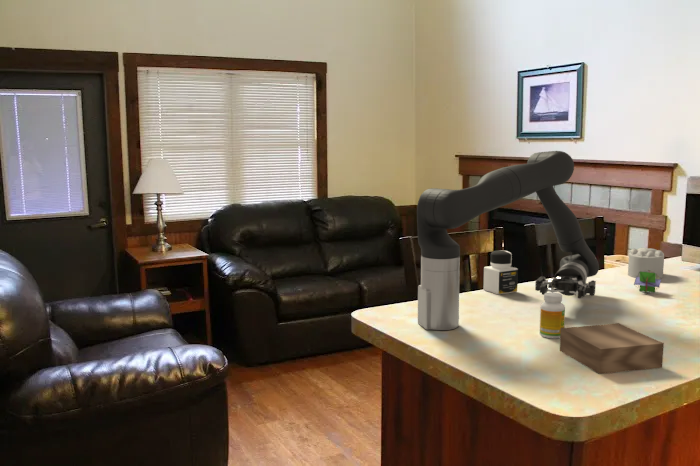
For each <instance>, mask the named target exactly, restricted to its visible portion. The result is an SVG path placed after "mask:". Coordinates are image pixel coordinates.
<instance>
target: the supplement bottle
mask: <svg viewBox="0 0 700 466" xmlns="http://www.w3.org/2000/svg"><path fill="white" fill-rule="evenodd" d="M543 300H544V301H543V302H542V303H541V304H540V310H539V335H540V336H541V337H544V338H547V339H556V340H557V339H560V332H561V328H565V318H566V317H565V316H566V306H565V304H564V303H563V302H562V301H563V294H561V293H560V292H549V291H548V292H547V293H545V294H544V295H543Z"/></svg>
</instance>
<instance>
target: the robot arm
mask: <svg viewBox="0 0 700 466" xmlns="http://www.w3.org/2000/svg"><path fill="white" fill-rule="evenodd" d="M574 171H575V163H574V160H573V158H572V157H571V155H570V154H568V153H567V152H564V151H563V150H552V151H551V150H549V151H539V152H535V153H533V154H531V155H530V156H529V158H528V159H527V162H526V163H521V164H513V165H510V166H509V165H508V166H505V167H501V168H498V169H495V170H492V171H489V172H487V173H486V174H484V175H482V176H481V178H480V179H479V181H478V182H477V184H475V185H473V186H471V187H466V188H461V189H447V188H437V187H436V188H435V187H434V188H432V187H431V188H427V189H426V190H424V191H423V192H422V193H421V194H420V196H419V198H418V202H417V207H416V223H417V224H416V225H417V227H416V228H417V242H418V246H419V248H420V254H421V255H420V284H419V285H418V286H417V323H418V324H419V325H420V326H421V327H423V329H425V330H434V331H449V330H454V329H457V328H459V325H460V273H461V272H460V262H461V248H460V244H459V243H458V242H456V240H454V239H452V237H451V236H450V235H449V233H448V230H451V229H452V230H453V229H457V228H459V227H462V226H463V225H466V224H467V223H469V222H470V221H471V220H473V219H475V218H477V217H479V216H481V215H482V214H485V213H489V212H491V211H494V210H495V209H499V208H501V207H504V206H507V205H510V204H513V203H515V202H516V201H519V200H520V199H523V198H525V197H528V196H531V195H532V194H534V193H535V194H536V195H537V197H538V200H539V201H540V203H541V204H542V205H541V206H542V207H543V208H544V210H545V212H546V214H547V216H548V218H549V220H550V223H551V225H552V228H553V231H554V234H555V237H556V239H557V244H558V246H559V249H560V250H561V251H562V252H565V253H575V254H571V255H567V256H564V257H562V258H561V259H560V261H559V269H558V270H557V271H556V273H555V275H554V276H553V277H551V278H549V279H547V278H546V277H545V276H543V275H542V276H540V277H538V278H537V279H535V285H534V287H535V289H534V290H535V291H536V292H538V291H539V293H541V295H543V296H544V294H545V293H549V292H553V293H559V294H562V296H563V295H564V296H567V297H571V296H576V295H577V298H578V299H582V298H583V297H586V296H587V295H589V296H591V297H593V296H595V295H596V283H597V282H596V281H597V280H590V281H588V283H587V278H589V277H594V276H596V275H597V274H598V272H599V270H600V263H599V261H598V258H597V257H596V255H595V254H594V252H593V251H592V250H591V248H590V247H589V246H588V244H587V242H586V240H585V238H584V234H583V231H582V229H581V228H582V227H581V225H580V222H579V219H578V218H577V215H575V213H574V212H573V211H572V210H571V208H570V207H569V206H567V204H566V203H565V202H564V201H563V199H561V198H560V196H559V195H558V193H557V192H556V189H555V188H554V187H555V186H560V185H564V184H565V183H567V182H569V180H570V179H571V178H572V176H573V173H574Z"/></svg>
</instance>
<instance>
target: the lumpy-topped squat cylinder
mask: <svg viewBox="0 0 700 466" xmlns="http://www.w3.org/2000/svg"><path fill="white" fill-rule="evenodd" d="M664 262H665V254H664V252H663V251H662V250H660V249H658V250H657V249H655V248H647V247H639V248H637V249H636V248H632V249H630V250H629V253H628V263H627V264H628V265H627V266H628V267H627V276H629V277H631V278H633V279H636V276H638V277H640V273H639V272H646V271H647V272H649V271H648V270H650V271H653V272H655V273H657V275H658V276H659V277H660V279H662V278H663V277H664V266H665V265H664V264H665V263H664ZM638 273H639V275H638Z"/></svg>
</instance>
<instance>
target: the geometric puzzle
mask: <svg viewBox="0 0 700 466" xmlns="http://www.w3.org/2000/svg"><path fill="white" fill-rule="evenodd" d="M648 271H649V272H647V271H646V272H639V273H640V277H638V276H636V278H634V279H635V280H634V283H633V285H634V286H636V289H638V291H639V292H642V293H643V294H644V295H646V293H656V292H657V291H658V289H660V287H661V282H662V278H660V277H659V276H658V275H657V273H655V272H653V271H650V270H648ZM639 273H638V275H639ZM637 286H638V287H637Z"/></svg>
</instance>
